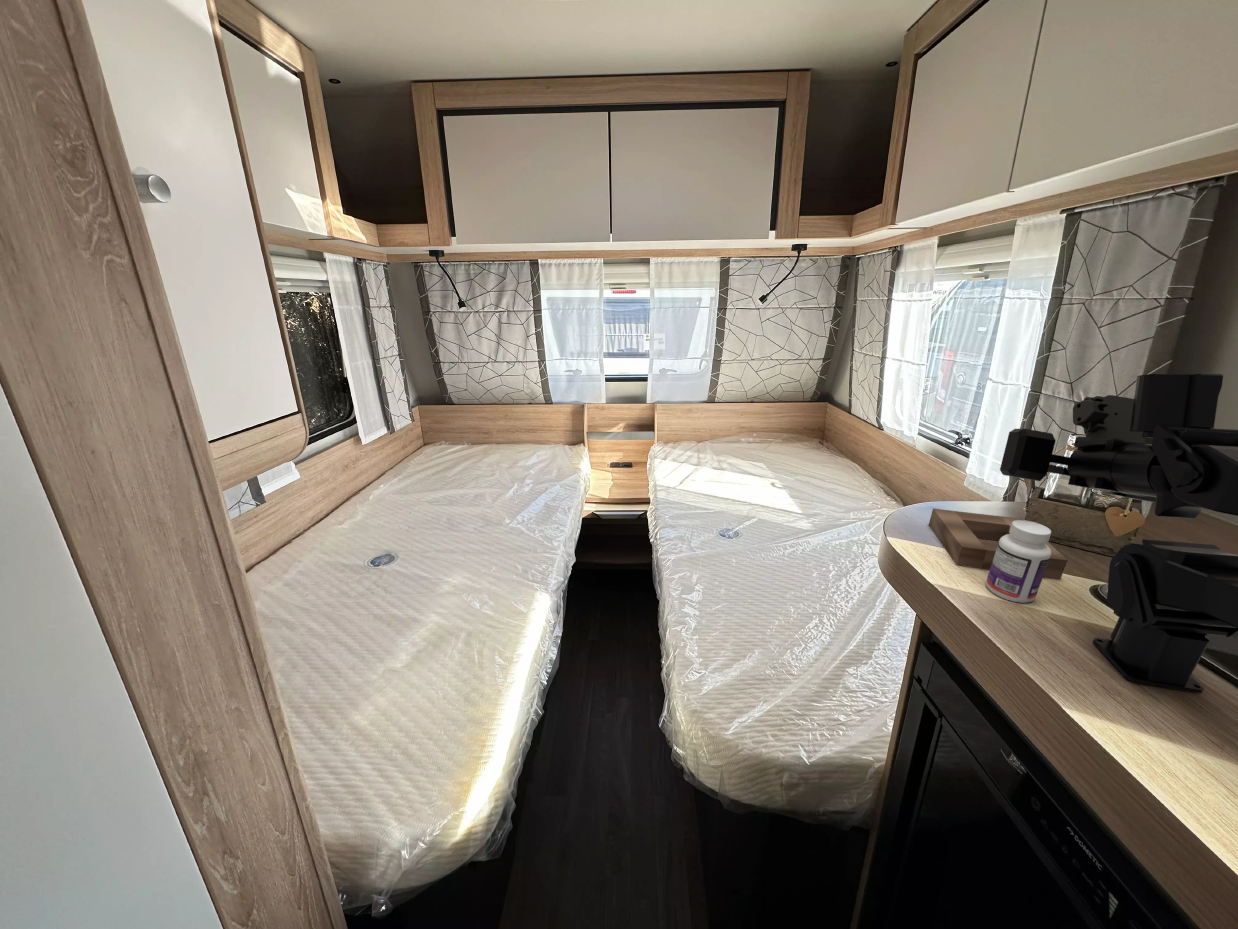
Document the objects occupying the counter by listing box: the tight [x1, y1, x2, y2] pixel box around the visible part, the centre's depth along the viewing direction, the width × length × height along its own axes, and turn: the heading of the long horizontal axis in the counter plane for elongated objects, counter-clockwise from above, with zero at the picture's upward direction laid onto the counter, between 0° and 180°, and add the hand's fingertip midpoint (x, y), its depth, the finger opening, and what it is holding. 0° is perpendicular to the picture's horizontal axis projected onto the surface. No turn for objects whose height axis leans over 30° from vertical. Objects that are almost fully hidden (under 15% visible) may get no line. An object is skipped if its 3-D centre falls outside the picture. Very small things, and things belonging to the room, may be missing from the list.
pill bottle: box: [985, 519, 1052, 604], centre depth 66 cm, size 5×5×10 cm
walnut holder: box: [928, 508, 1068, 580], centre depth 77 cm, size 13×13×3 cm
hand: (1041, 461), depth 73 cm, fingers open, 9 cm apart
